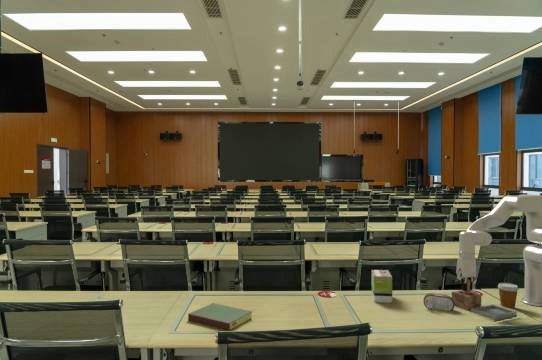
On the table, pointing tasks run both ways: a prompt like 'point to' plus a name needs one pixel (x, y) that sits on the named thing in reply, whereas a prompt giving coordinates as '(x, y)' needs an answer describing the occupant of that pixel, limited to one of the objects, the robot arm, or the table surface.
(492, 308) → the tray
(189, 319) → the hardcover book
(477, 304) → the socket block
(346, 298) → the table surface
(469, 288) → the dowel
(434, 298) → the tin
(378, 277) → the tea box
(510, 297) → the disposable coffee cup
